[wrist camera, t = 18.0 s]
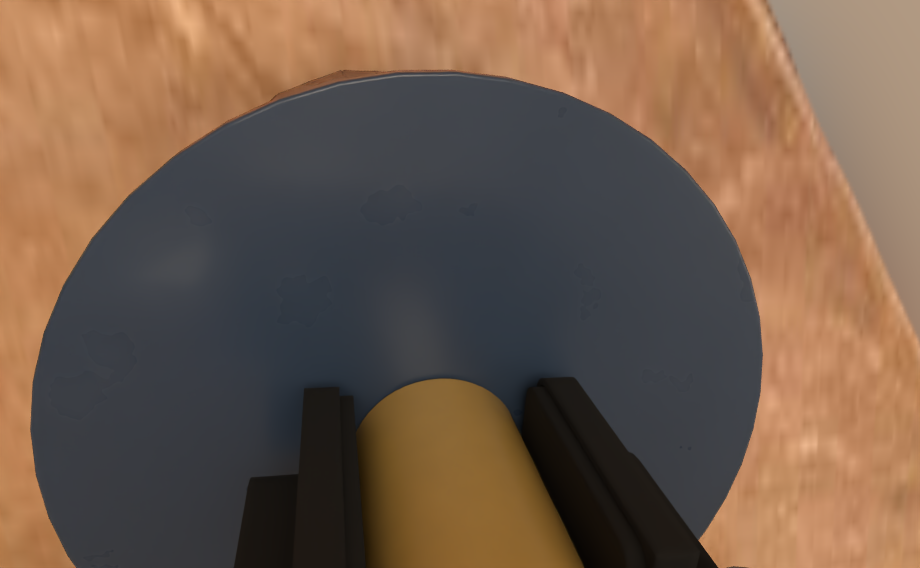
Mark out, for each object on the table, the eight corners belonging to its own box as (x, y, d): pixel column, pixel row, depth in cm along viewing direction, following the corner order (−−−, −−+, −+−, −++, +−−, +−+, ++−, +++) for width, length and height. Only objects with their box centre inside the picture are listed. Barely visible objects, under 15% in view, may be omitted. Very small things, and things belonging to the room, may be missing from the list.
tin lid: (111, 692, 13) (-61, 1219, 7) (-12, 41, 8) (-699, 59, 3) (667, 620, 15) (871, 969, 9) (794, 88, 11) (1303, 147, 5)
